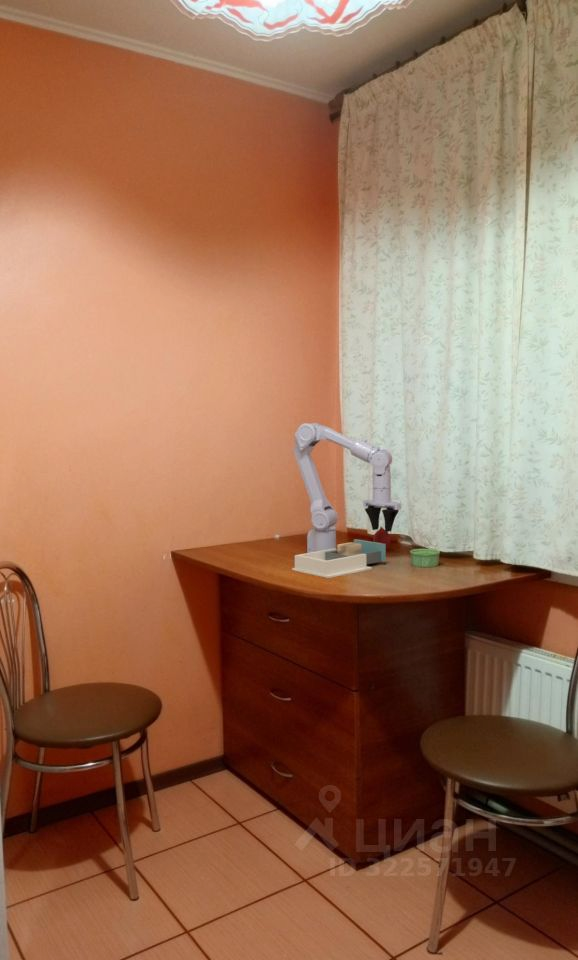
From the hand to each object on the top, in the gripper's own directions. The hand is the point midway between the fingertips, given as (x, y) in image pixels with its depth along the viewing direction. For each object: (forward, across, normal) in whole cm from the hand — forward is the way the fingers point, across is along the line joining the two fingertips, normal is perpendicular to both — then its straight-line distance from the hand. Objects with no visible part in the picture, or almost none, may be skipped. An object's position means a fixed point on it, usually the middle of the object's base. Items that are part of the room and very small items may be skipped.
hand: (381, 530), depth 239 cm
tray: (+8, 0, -13) cm, 15 cm away
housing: (+9, 0, -22) cm, 24 cm away
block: (+8, 0, -15) cm, 16 cm away
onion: (+10, -12, +13) cm, 20 cm away
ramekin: (+10, +15, +3) cm, 18 cm away
